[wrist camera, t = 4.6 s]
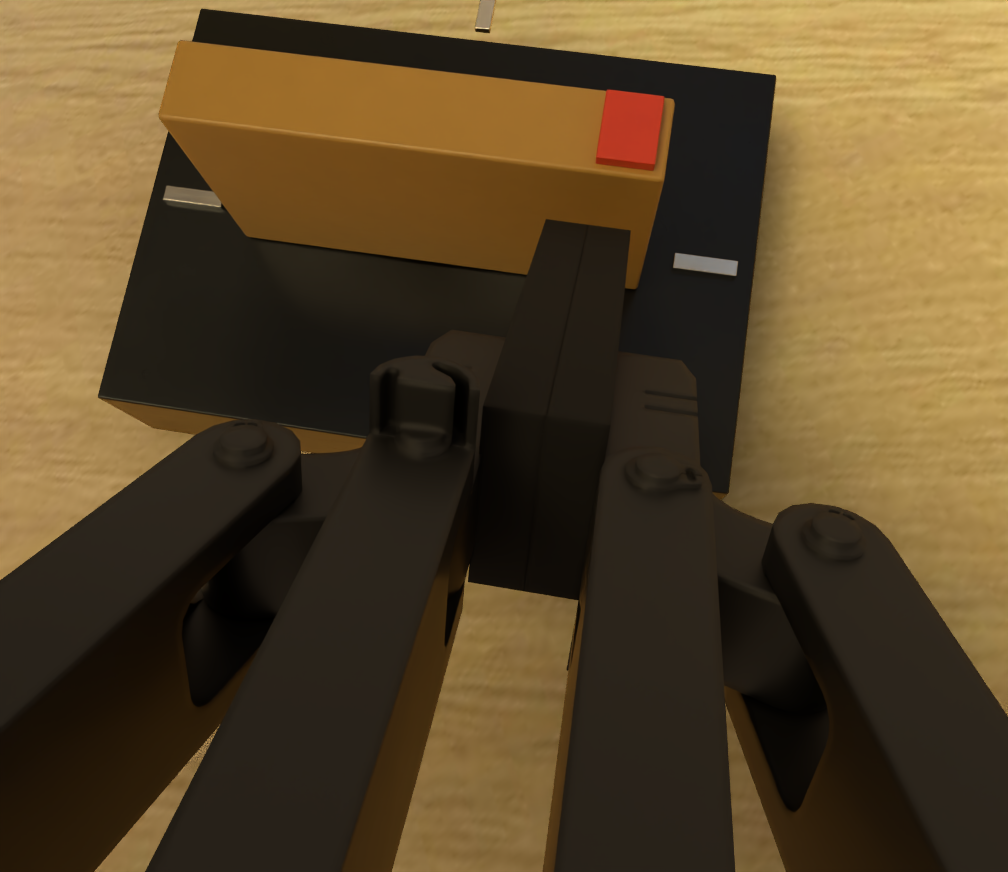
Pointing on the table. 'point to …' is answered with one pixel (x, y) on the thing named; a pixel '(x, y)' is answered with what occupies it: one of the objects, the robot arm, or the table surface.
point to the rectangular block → (414, 155)
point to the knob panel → (423, 284)
